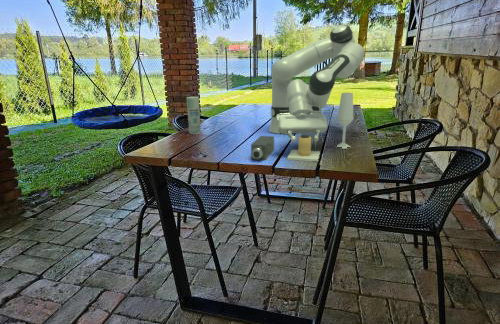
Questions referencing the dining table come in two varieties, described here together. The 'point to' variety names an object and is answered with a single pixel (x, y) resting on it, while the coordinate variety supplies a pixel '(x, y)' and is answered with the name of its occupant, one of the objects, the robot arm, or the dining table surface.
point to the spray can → (193, 115)
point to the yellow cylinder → (304, 145)
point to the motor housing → (262, 147)
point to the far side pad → (295, 156)
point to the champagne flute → (345, 114)
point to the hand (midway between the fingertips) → (305, 140)
